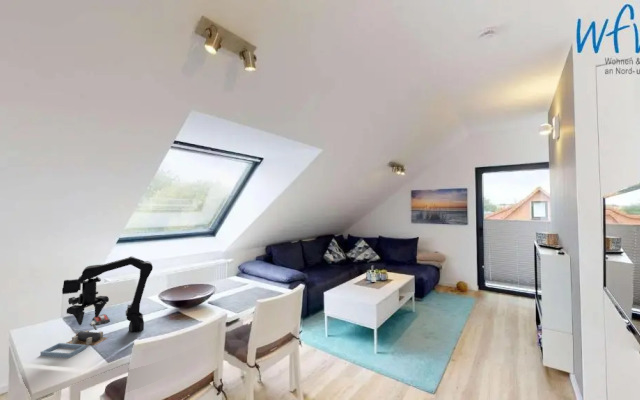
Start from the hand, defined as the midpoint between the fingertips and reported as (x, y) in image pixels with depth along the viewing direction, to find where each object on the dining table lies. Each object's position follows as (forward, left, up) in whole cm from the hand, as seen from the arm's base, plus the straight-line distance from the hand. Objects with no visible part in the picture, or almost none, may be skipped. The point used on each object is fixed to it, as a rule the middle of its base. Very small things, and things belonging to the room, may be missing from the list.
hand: (88, 320), depth 147 cm
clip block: (0, 0, -11) cm, 11 cm away
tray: (+1, +12, -11) cm, 16 cm away
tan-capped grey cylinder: (0, 0, -10) cm, 10 cm away
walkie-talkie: (+12, -20, -12) cm, 26 cm away
